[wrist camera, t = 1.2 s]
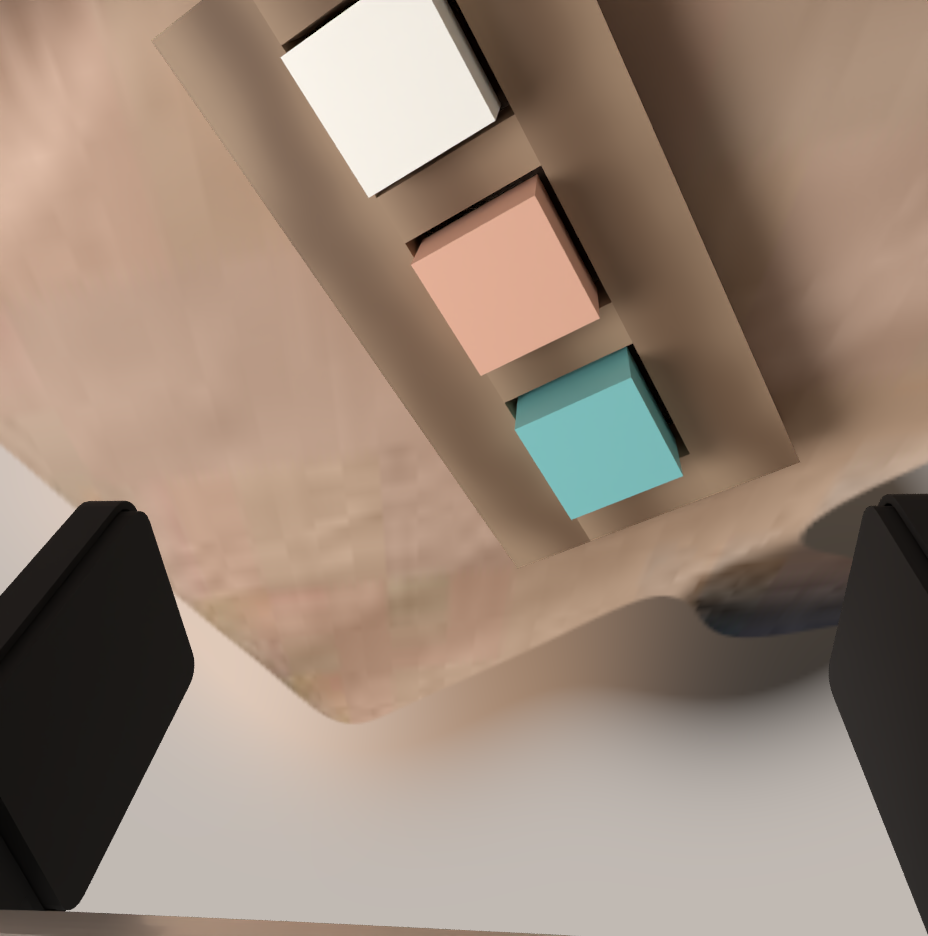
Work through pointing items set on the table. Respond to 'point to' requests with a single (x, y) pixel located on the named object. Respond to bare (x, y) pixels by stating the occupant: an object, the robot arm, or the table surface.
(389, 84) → the ivory button
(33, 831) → the robot arm
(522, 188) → the terracotta button
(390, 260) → the console
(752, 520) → the table surface
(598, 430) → the teal button
